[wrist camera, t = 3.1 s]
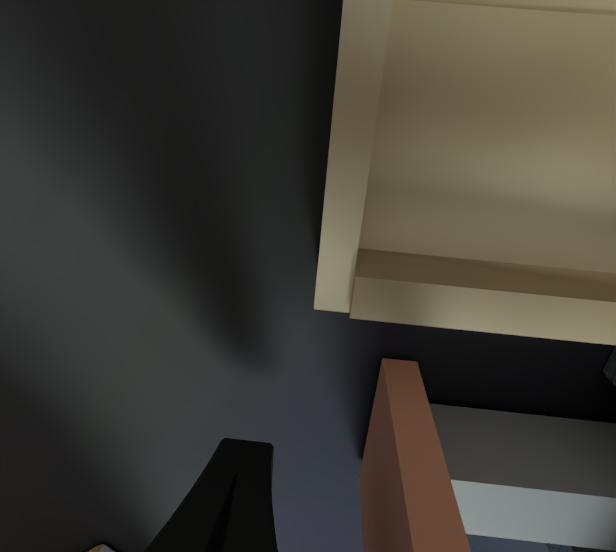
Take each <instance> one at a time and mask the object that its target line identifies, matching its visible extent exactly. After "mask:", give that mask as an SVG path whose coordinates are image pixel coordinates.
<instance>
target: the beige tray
mask: <svg viewBox="0 0 616 552" xmlns="http://www.w3.org/2000/svg"><path fill="white" fill-rule="evenodd" d="M314 309H317V310H327V311H337V312H346V313H349V309H350V318H352V319H361V320H371V321H381V322H391V323H401V324H411V325H420V326H430V327H440V328H450V329H460V330H470V331H479V332H489V333H499V334H509V335H519V336H529V337H538V338H548V339H558V340H568V341H578V342H588V343H597V344H607V345H616V0H343V9H342V19H341V29H340V40H339V50H338V61H337V71H336V82H335V92H334V102H333V113H332V123H331V134H330V144H329V155H328V165H327V175H326V186H325V196H324V207H323V217H322V228H321V238H320V248H319V259H318V269H317V280H316V290H315V301H314Z"/></svg>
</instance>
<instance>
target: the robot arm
mask: <svg viewBox="0 0 616 552" xmlns="http://www.w3.org/2000/svg"><path fill="white" fill-rule="evenodd" d="M273 451H274V446H272V445H271V444H270V443H265V442H256V441H247V440H238V439H229V438H224V439H223V440H221V441H220V443H219V445H218V447H217V449H216V451H215V452H214V454H213V456H212V457H211V459H210V461H209V462H208V464H207V466H206V467H205V469H204V470H203V472H202V473H201V475H200V477H199V478H198V480H197V481H196V483H195V484H194V486H193V487H192V488H191V490H190V491H189V493H188V494H187V496H186V497H185V498H184V500H183V501H182V503H181V504H180V505H179V507H178V508H177V510H176V511H175V512H174V514H173V515H172V517H171V518H170V519H169V521H168V522H167V523H166V524H165V526H164V527H163V528H162V529H161V531H160V532H159V533H158V535H157V536H156V537H155V538H154V540H153V541H152V542H151V544H150V545H149V546H148V547H147V549H146V550H145V551H144V552H278V550H277V543H276V535H275V527H274V517H273V507H272V493H271V489H272V470H273Z"/></svg>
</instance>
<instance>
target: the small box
mask: <svg viewBox="0 0 616 552" xmlns="http://www.w3.org/2000/svg"><path fill="white" fill-rule="evenodd" d="M88 552H115V551H113V550H112V549H110V548H109V547H108V546H106V545H104V544H101V545H98V546H96V547H95V548H93V549H91V550H89V551H88Z"/></svg>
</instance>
